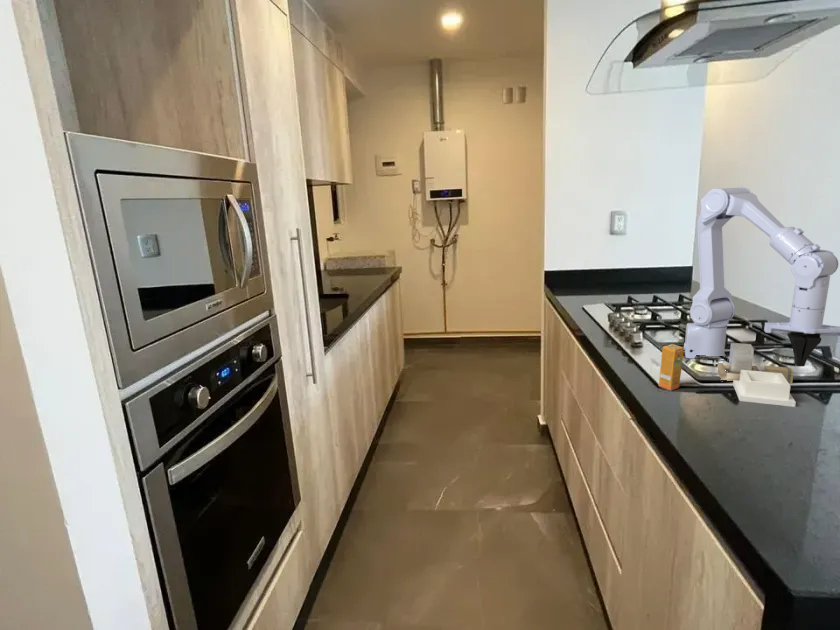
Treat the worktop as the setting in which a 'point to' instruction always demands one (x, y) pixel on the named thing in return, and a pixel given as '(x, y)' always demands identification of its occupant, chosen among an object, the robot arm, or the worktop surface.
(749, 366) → the steel peg
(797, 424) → the worktop surface
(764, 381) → the white square socket
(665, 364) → the supplement box
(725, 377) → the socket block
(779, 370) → the tan rectangular block
